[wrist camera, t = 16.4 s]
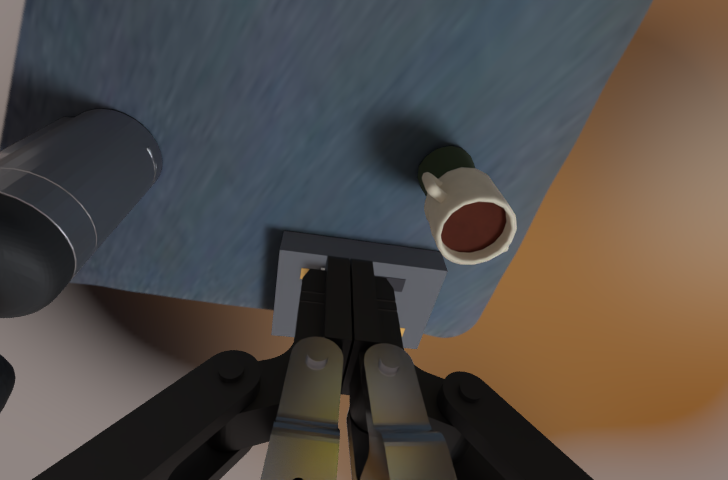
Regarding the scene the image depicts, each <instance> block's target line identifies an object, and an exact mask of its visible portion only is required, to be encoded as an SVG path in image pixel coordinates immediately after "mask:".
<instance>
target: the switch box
mask: <svg viewBox="0 0 728 480" xmlns="http://www.w3.org/2000/svg"><path fill="white" fill-rule="evenodd" d="M328 255H330V256H338V257H345V258H349V259H351V258H354V259H362V260H369V261H373V268H374V276H376V277H384V278H387V280H388V281H389V283H390V284H391V286H392V287H393V288H394V293H395V299H396V301H395V303H396V305H397V313H398V318H399V324H400V330H401V336H402V342H403V348H412V349H417V348H418V345H419V342H420V340H421V337H422V335H423V332H424V330H425V327H426V325H427V322H428V320H429V317H430V315H431V312H432V310H433V307H434V304H435V302H436V299H437V297H438V294H439V292H440V289H441V287H442V284H443V282H444V279H445V277H446V274H447V268H446V265H445V262H444V260H443V257H442V254H441V252H439V251H431V250H424V249H416V248H409V247H402V246H394V245H387V244H379V243H372V242H364V241H357V240H350V239H342V238H335V237H327V236H320V235H313V234H305V233H298V232H290V231H284V232H283V237H282V242H281V246H280V252H279V263H278V273H277V283H276V293H275V304H274V314H273V324H272V335H277V336H288V337H295V329H296V321H297V313H298V306H299V299H300V292H301V285H302V278H303V277H304V276H305V274H306V273H307V272H308V271H309V269H318V270H321V268H325V266H326V260H327V256H328Z"/></svg>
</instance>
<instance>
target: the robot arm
mask: <svg viewBox="0 0 728 480" xmlns="http://www.w3.org/2000/svg"><path fill="white" fill-rule="evenodd" d="M161 170H162V156H161V151H160V149H159V147H158V144H157V142H156V141H155V139H154V138H153V136H152V135H151V134H150V133H149V131H148V130H147V129H146V128H145V127H144V126H143V125H141V124H140V123H139V122H137V121H136V120H135V119H133V118H131V117H129V116H127V115H126V114H123V113H120V112H117V111H114V110H108V109H93V110H89V111H85V112H83V113H82V114H80V115H78V116H76V117H62V118H60V119H59V120H57V121H55V122H53V123H51V124H49V125H48V126H46V127H44V128H42V129H40V130H38V131H37V132H35V133H33V134H31V135H29V136H27V137H26V138H24V139H22V140H20V141H18V142H16V143H15V144H13V145H11V146H9V147H7V148H5V149H4V150H2V151H0V318H12V317H20V316H25V315H28V314H32V313H35V312H37V311H39V310H41V309H42V308H44V307H45V306H47V305H48V304H50V303H51V302H52V301H53V300H54V299H55V298H56V297H57V296H58V295H59V294H60V293H61V291H62V290H63V289H64V288H65V287H66V286H67V284H68V283H69V282H70V281H71V279H72V278H73V277H74V276H75V275H76V274H77V272H78V271H79V270H80V269H81V268H82V267H83V265H84V264H85V263H86V262H87V261H88V260H89V258H90V257H91V256H92V255H93V254H94V252H95V251H96V250H97V249H98V248H99V247H100V246H101V244H102V243H103V242H104V241H105V240H106V239H107V237H108V236H109V235H110V234H111V233H112V232H113V231H114V229H115V228H116V227H117V226H118V225H119V224H120V222H121V221H122V220H123V219H124V218H125V217H126V215H127V214H128V213H129V212H130V211H131V210H132V209H133V207H134V206H135V205H136V204H137V203H138V202H139V200H140V199H141V198H142V197H143V196H144V195H145V194H146V192H147V191H148V190H149V189H150V188H151V187H152V185H153V184H154V183H155V182H156V180H157V179H158V177H159V176H160V173H161ZM395 301H396V299H395V293H394V288H393V287H392V286H391V284H390V283H389V281H388V280H387V278H384V277H376V276H374V268H373V261H369V260H362V259H354V258H351V259H349V258H345V257H338V256H330V255H328V256H327V260H326V266H325V270H318V269H309V271H308V272H307V273H306V274H305V276H304V277H303V278H302V285H301V292H300V299H299V306H298V313H297V321H296V329H295V337H294V343H293V345H292V346H291V348H290V349H289V350H288V351H286V352H285V353H284V354H282V355H280V356H278V357H275V358H272V359H268V360H262V361H257V360H256V359H255V358H254V357H253V356H252V355H250V354H248V353H246V352H243V351H237V350H230V351H224V352H221V353H219V354H216V355H215V356H213V357H211V358H210V359H208V360H207V361H205V362H204V363H203V364H201V365H200V366H198V367H197V368H195V369H194V370H192V371H191V372H189V373H188V374H186V375H185V376H183V377H182V378H180V379H179V380H177V381H176V382H175V383H173V384H172V385H170V386H169V387H167V388H166V389H164V390H163V391H161V392H160V393H159V394H157V395H155V396H154V397H152V398H151V399H150V400H148V401H147V402H145V403H144V404H142V405H141V406H139V407H138V408H136V409H135V410H133V411H132V412H131V413H129V414H128V415H126V416H125V417H123V418H122V419H120V420H119V421H117V422H116V423H114V424H113V425H111V426H110V427H109V428H107V429H105V430H104V431H102V432H101V433H100V434H98V435H97V436H95V437H94V438H92V439H91V440H89V441H88V442H86V443H85V444H83V445H82V446H80V447H79V448H78V449H76V450H75V451H73V452H72V453H70V454H69V455H67V456H66V457H64V458H63V459H61V460H60V461H58V462H57V463H55V464H54V465H53V466H51V467H50V468H48V469H47V470H46V471H44V472H42V473H41V474H39V475H38V476H36V477H35V478H33V479H32V480H219V479H221V478H222V476H224V475H225V474H226V473H227V472H228V471H229V470H230V469H231V468H232V467H233V466H234V465H235V464H236V463H237V462H238V461H239V460H240V459H241V458H242V457H243V456H244V455H245V454H246V453H247V452H248V451H249V450H250V449H251V447H252V446H254V445H258V444H261V443H265V442H269V445H268V450H267V454H266V458H265V462H264V467H263V471H262V476H261V480H336V478H337V465H338V453H339V439H340V430H339V429H338V417H339V404H340V394H345V395H350V407H349V411H348V414H347V431H348V442H349V454H350V465H351V475H352V480H593V479H592V478H591V477H590V476H589V475H588V474H587V473H586V472H584V471H583V470H582V469H581V468H580V467H579V466H578V465H577V464H575V463H574V462H573V461H572V460H571V459H570V458H569V457H568V456H566V455H565V454H564V453H563V452H562V451H561V450H560V449H559V448H557V447H556V446H555V445H554V444H553V443H552V442H551V441H550V440H548V439H547V438H546V437H545V436H544V435H543V434H542V433H541V432H540V431H538V430H537V429H536V428H535V427H534V426H533V425H532V424H531V423H530V422H528V421H527V420H526V419H525V418H524V417H523V416H522V415H521V414H519V413H518V412H517V411H516V410H515V409H514V408H513V407H512V406H510V405H509V404H508V403H507V402H506V401H505V400H504V399H503V398H502V397H500V396H499V395H498V394H497V393H496V392H495V391H494V390H493V389H491V388H490V387H489V386H488V385H487V384H486V383H485V382H484V381H482V380H481V379H480V378H478V377H477V376H475V375H473V374H470V373H467V372H460V371H459V372H453V373H451V374H449V375H448V376H447V377H446V378H445V379H443V378H440V377H437V376H435V375H432V374H430V373H427V372H424V371H423V370H421V369H419V368H418V367H416V366H415V365H414V364H413V362H412V359H411V357H410V356H409V355H408V354H407V353H406V352H405V351H404V348H403V342H402V336H401V330H400V324H399V318H398V313H397V305H396V303H395ZM14 383H15V373H14V369H13V367H12V365H11V364H10V363H9V362H8V361H7V360H6V359H5V358H4V357H3V356H1V355H0V412H1V411H2V409H3V408H4V406H5V404H6V402H7V400H8V398H9V396H10V394H11V392H12V390H13V387H14Z"/></svg>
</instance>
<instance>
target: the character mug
mask: <svg viewBox="0 0 728 480" xmlns="http://www.w3.org/2000/svg"><path fill="white" fill-rule="evenodd" d="M418 181H419V183H420V186H421V188H422V190H423V192H424V193H425V195H426V196H427V197H426V200H425V205H424V210H425V214H426V218H427V220H428V221H429V223H430V228H431V232H432V235H433V237H434V239H435V242H436V245H437V247H438V249H439V251H440V252H441V254H442V255H443V256H444V257H445V258H446V259H448V260H450V261H451V262H454V263H458V264H467V265H474V264H478V263H482V262H486V261H489V260H491V259H492V258H494V257H496V256H498V255H499V254H501V253H502V252H506V251H507V250H508V248H509V247H508V246H509V245H510V243H511V242H512V240H513V237H514V235H515V232H516V230H517V226H516V215H515V214H514V212H513V210H512V209H511V207H510V206H509V204H508V203H507V202H506V200H505V199H504V197H503V196H502V194H501V193H500V192H499V190H498V189H497V187H496V186H495V184H494V183H493V182H492V180H491V179H490V177H489V176H488V175H487V174H485V173H483V172H481V171H480V170H478V169H476V168H475V166H474V163H473V161H472V158H471V156H470V155H469V154H468V153H467V152H466V151H464V150H463V149H462V148H458V147H454V146H447V147H443V148H438V149H436V150H435V151H433V152H432V153H430V154H429V155H427V156H426V157H425V159H424V160H423V161H422V163H421V164H420V165H419V169H418Z"/></svg>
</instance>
